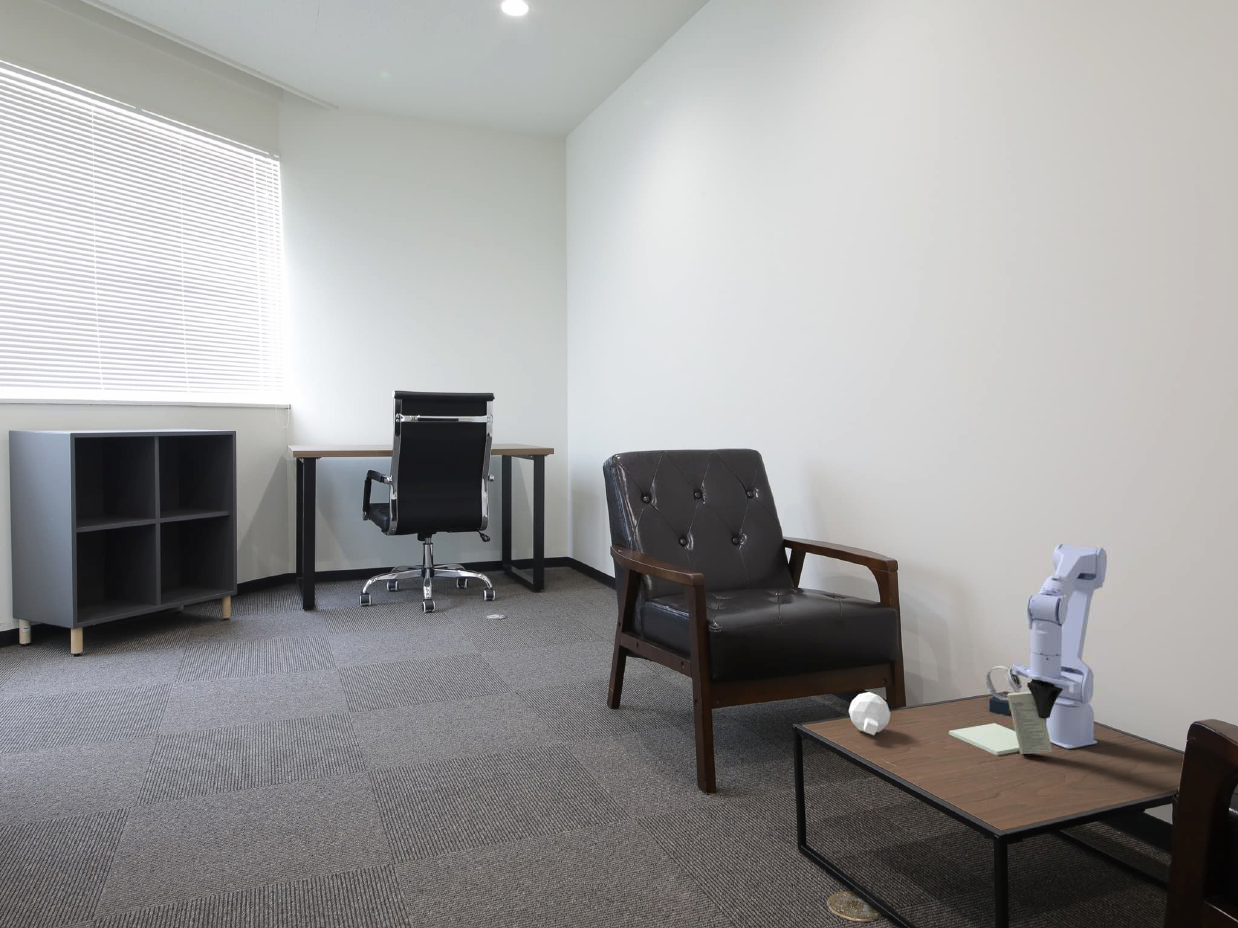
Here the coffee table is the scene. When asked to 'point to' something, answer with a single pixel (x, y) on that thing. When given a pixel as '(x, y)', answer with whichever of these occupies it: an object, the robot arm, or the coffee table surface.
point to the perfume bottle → (869, 713)
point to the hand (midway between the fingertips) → (1044, 717)
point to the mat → (989, 738)
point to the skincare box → (1028, 724)
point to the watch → (1001, 702)
